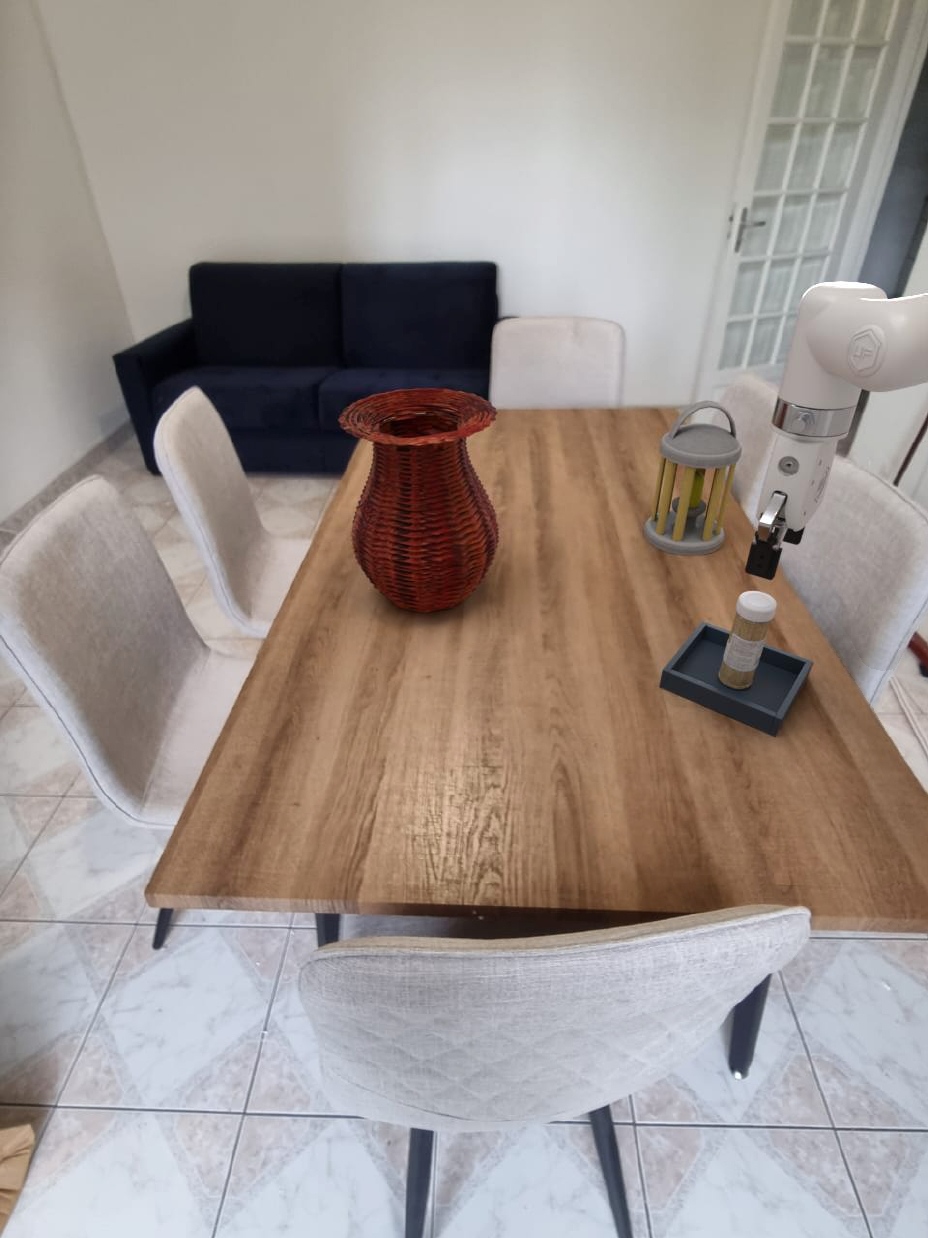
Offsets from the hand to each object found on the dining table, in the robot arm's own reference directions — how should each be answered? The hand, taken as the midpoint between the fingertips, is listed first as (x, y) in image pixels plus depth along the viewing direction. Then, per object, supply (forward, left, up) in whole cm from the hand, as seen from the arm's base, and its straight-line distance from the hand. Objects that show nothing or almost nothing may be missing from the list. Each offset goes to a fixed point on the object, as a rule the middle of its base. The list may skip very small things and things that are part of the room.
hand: (773, 557), depth 80 cm
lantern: (+22, -34, -21) cm, 46 cm away
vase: (+49, +7, -21) cm, 54 cm away
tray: (0, 0, -20) cm, 20 cm away
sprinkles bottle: (0, 0, -20) cm, 20 cm away
